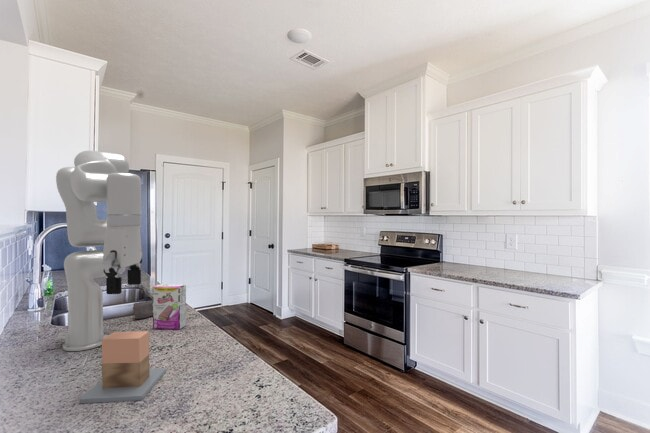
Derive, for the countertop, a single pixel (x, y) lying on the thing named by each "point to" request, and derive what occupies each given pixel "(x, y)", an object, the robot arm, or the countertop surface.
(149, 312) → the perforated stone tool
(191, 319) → the countertop surface
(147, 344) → the terracotta brick
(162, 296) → the candy bar box
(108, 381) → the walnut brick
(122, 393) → the baseplate
